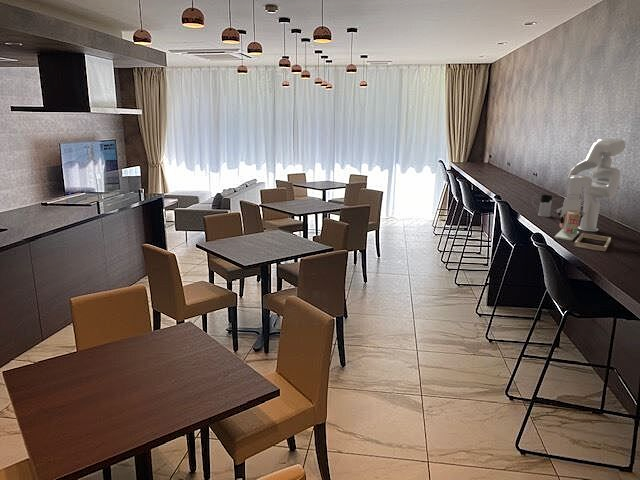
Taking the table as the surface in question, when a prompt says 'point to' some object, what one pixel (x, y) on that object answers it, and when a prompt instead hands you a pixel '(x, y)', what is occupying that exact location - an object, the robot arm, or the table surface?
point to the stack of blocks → (570, 222)
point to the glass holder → (544, 205)
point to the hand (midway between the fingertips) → (568, 224)
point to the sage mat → (566, 235)
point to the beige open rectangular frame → (589, 246)
